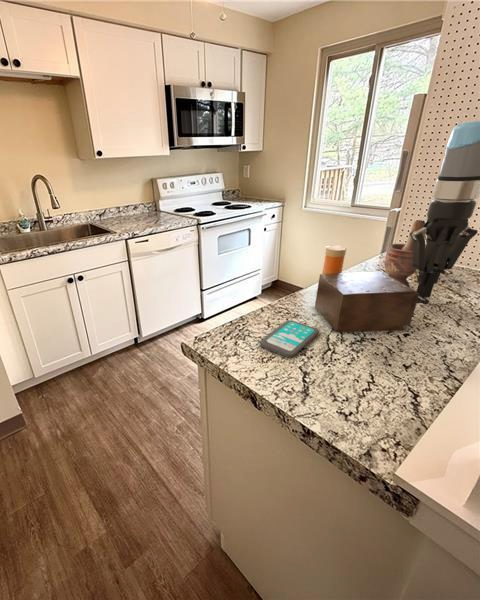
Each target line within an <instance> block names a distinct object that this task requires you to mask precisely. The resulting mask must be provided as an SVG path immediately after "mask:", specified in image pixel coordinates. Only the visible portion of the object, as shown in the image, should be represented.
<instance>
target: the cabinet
mask: <svg viewBox="0 0 480 600" xmlns="http://www.w3.org/2000/svg"><path fill="white" fill-rule="evenodd" d="M388 275H389V274H386V273H385V272H383V271H381V270H376V271H359V272H355V271H354V272H342V273H335V274H322V273H321V274H319V277H318V283H317V291H316V296H315V301H314V302H315V303H314V309H315V310H316V311H317V313H318V314H319V315H320V316H321V317H322V319H324V321H325V322H326V323H327V324H328V325H329V326H330V327H331V328H332V330H333V331H334V332H335V333H351V332H353V333H354V332H357V333H358V332H385V331H392V332H393V331H404V328H405V326H404V325H405V322H406V319H407V316H408V312H409V309H410V306H411V302H412V299H413V296H414V292H415V291H416V290H414V289H413V290H414V291H413V290H412V288H411V287H410V288H411V289H410V288H408V287H407V286H405V285H403V284H401V283H400V282H398V281H396V280H395V279H393V278H391V277H389V276H388Z"/></svg>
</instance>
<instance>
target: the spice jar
mask: <svg viewBox="0 0 480 600" xmlns="http://www.w3.org/2000/svg"><path fill="white" fill-rule="evenodd" d="M324 254H325V255H324V261H323V266H322V267H323V268H322V271H321V272H322V273H321V274H335V273H343V268H344V267H343V266H344V262H345V257H346V254H347V247H345V246H344V245H328V246H326V247H325V252H324Z"/></svg>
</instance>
